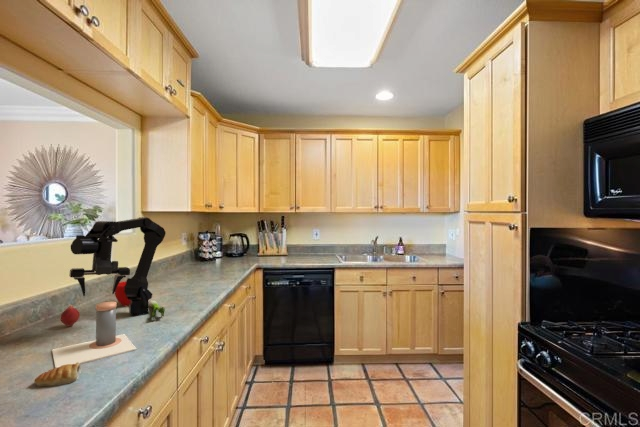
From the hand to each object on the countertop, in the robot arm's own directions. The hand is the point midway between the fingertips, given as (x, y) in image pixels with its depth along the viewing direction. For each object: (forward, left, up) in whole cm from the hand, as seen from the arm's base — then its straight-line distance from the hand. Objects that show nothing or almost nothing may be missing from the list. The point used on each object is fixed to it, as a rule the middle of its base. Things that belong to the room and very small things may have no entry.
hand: (98, 294), depth 122 cm
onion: (+8, -9, -13) cm, 18 cm away
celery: (-21, -7, -13) cm, 26 cm away
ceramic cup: (-16, -30, -13) cm, 37 cm away
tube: (+1, +20, -12) cm, 23 cm away
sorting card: (+4, +23, -13) cm, 27 cm away
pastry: (+14, +39, -13) cm, 43 cm away
